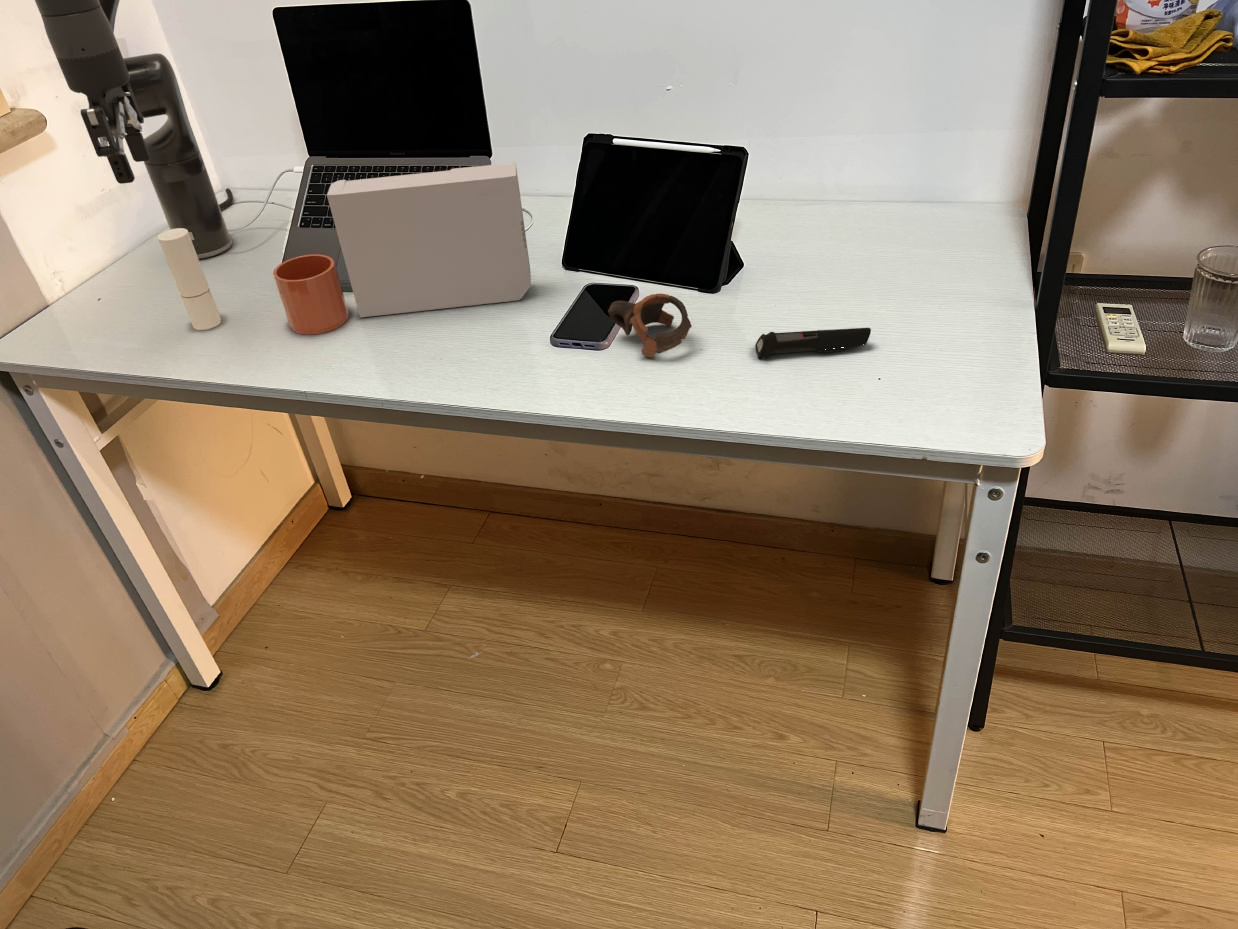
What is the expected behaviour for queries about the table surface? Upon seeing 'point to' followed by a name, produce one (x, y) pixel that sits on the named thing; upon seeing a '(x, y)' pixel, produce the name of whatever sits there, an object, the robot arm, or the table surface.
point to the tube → (189, 278)
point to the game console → (432, 239)
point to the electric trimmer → (811, 341)
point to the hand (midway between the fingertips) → (135, 170)
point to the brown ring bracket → (651, 321)
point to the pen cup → (311, 294)
